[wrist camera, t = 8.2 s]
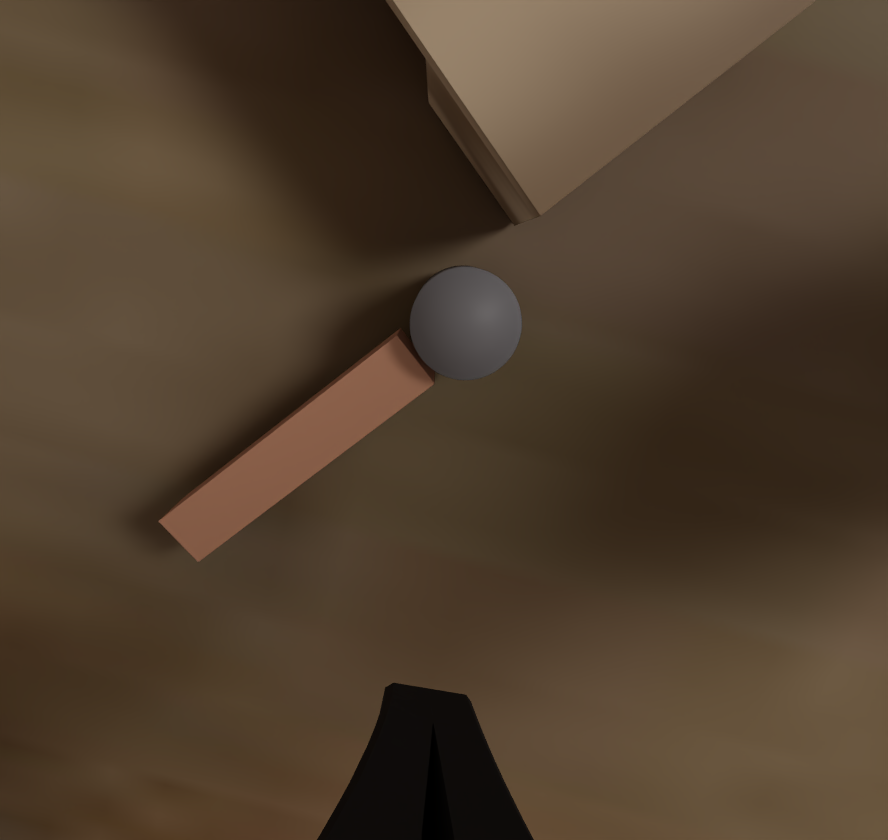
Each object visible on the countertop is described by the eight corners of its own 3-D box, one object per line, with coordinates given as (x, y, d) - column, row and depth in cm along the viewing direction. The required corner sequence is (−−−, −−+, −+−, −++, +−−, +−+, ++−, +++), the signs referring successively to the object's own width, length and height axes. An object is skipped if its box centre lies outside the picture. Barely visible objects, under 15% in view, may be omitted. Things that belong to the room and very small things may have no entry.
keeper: (472, 244, 16) (477, 243, 14) (529, 324, 16) (543, 335, 14) (171, 482, 17) (132, 515, 15) (232, 547, 18) (203, 588, 16)
